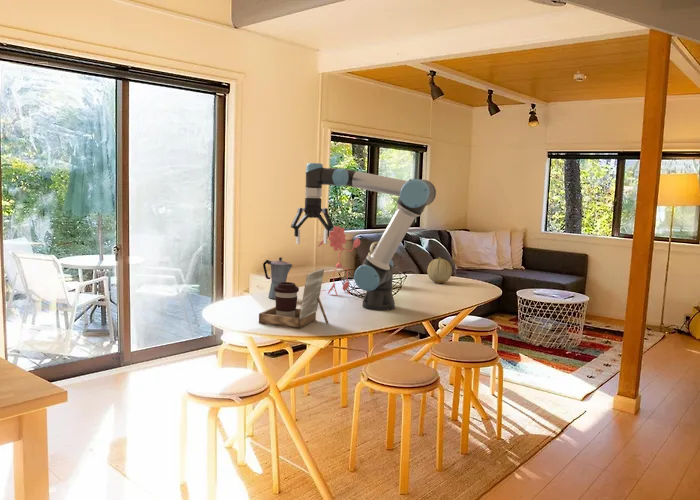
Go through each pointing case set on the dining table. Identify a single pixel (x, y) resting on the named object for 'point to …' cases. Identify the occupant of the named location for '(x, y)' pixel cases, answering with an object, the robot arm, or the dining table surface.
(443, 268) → the cantaloupe
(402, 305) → the dining table surface
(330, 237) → the figurine
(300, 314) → the cold frame
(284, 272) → the moka pot
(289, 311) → the coffee cup
